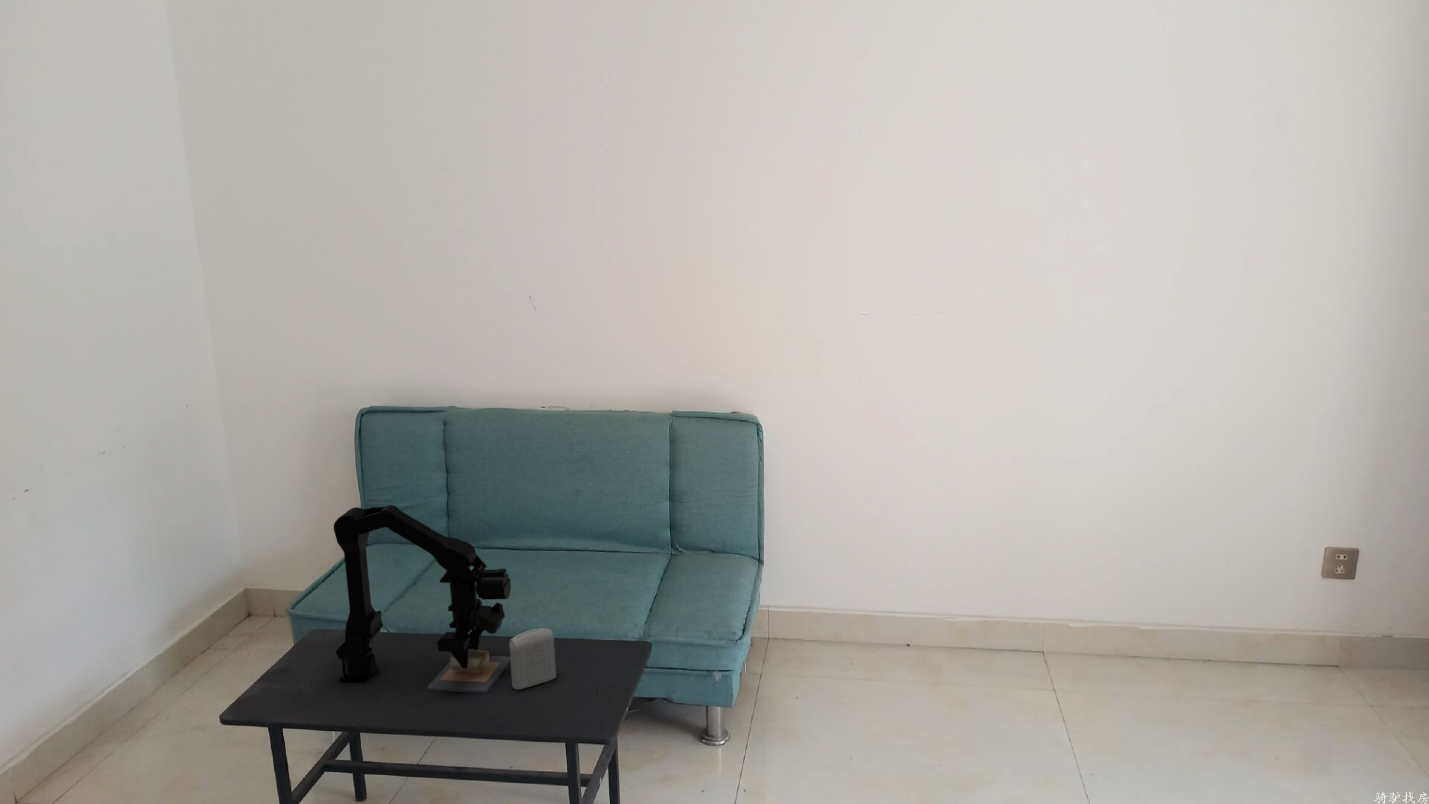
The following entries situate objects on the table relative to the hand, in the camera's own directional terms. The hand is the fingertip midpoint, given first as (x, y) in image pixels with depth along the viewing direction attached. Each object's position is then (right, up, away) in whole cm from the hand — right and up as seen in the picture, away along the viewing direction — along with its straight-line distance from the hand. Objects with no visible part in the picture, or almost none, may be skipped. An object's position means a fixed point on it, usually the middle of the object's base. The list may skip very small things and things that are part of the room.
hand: (469, 662), depth 215 cm
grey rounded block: (+16, -4, -4) cm, 16 cm away
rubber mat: (0, -3, +1) cm, 3 cm away
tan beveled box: (0, -1, 0) cm, 1 cm away
